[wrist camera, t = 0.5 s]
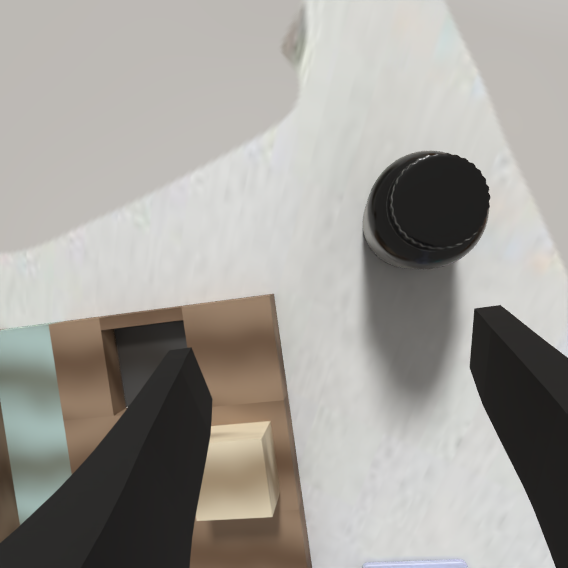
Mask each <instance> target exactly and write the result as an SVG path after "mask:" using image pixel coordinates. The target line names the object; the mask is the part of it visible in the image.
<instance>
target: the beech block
mask: <svg viewBox="0 0 568 568" xmlns="http://www.w3.org/2000/svg"><path fill="white" fill-rule="evenodd" d="M279 494H280V485H279V478H278V471H277V464H276V457H275V449H274V442H273V435H272V428H271V421H265V422H254V423H242V424H230V425H219V426H211V435H210V441H209V447H208V452H207V458H206V463H205V469H204V474H203V479H202V485H201V490H200V495H199V501H198V506H197V511H196V520H197V521H207V520H227V519H246V518H265V517H273V514H274V510H275V507H276V504H277V501H278V498H279Z"/></svg>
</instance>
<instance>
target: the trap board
mask: <svg viewBox="0 0 568 568" xmlns="http://www.w3.org/2000/svg"><path fill="white" fill-rule="evenodd" d="M179 320H182V321H179ZM171 321H174V322H171ZM163 322H166V323H163ZM155 323H159V324H155ZM147 324H151V325H147ZM139 325H143V326H139ZM131 326H135V327H131ZM123 327H127V328H123ZM115 328H119V329H115ZM114 329H115V331H114ZM115 336H116V337H115ZM116 342H117V344H116ZM190 347H192V350H193V352H194V355H195V357H196V360H197V362H198V364H199V367H200V369H201V372H202V374H203V377H204V379H205V382H206V384H207V386H208V389H209V391H210V394H211V396H212V399H213V401H212V421H211V426H219V425H230V424H242V423H254V422H265V421H271V428H272V435H273V442H274V449H275V457H276V464H277V471H278V478H279V485H280V494H279V498H278V501H277V504H276V507H275V510H274V514H273V517H265V518H246V519H227V520H207V521H197V520H196V516H195V523H194V529H193V536H192V546H191V557H190V568H312V564H311V557H310V549H309V542H308V535H307V528H306V521H305V514H304V506H303V499H302V492H301V485H300V478H299V471H298V464H297V456H296V449H295V442H294V435H293V428H292V421H291V413H290V406H289V399H288V392H287V385H286V378H285V370H284V363H283V356H282V349H281V342H280V335H279V327H278V320H277V313H276V306H275V299H274V294H269V295H261V296H253V297H246V298H238V299H231V300H223V301H215V302H208V303H200V304H193V305H185V306H177V307H170V308H162V309H154V310H147V311H139V312H132V313H124V314H116V315H109V316H101V317H93V318H86V319H78V320H71V321H63V322H55V323H48V324H40V325H32V326H25V327H17V328H10V329H2V330H0V543H1V542H2V541H3V540H4V539H5V538H7V537H8V536H9V535H10V534H11V533H12V532H13V531H15V530H16V529H17V528H18V527H19V526H20V525H21V524H22V523H23V522H24V521H25V520H26V519H27V518H28V517H30V516H31V515H32V514H33V513H34V512H35V511H36V510H37V509H38V508H39V507H40V506H41V505H42V504H43V503H44V502H45V501H46V500H47V499H48V498H49V497H51V496H52V495H53V494H54V493H55V492H56V491H57V490H58V489H59V488H60V487H61V486H62V485H63V483H64V482H65V481H66V480H67V479H68V478H69V477H70V476H71V475H72V474H73V473H74V472H75V471H76V470H77V469H78V468H79V467H80V465H81V464H82V463H83V462H84V461H85V460H86V459H87V458H88V456H89V455H90V454H91V453H92V452H93V451H94V450H95V448H96V447H97V446H98V445H99V443H100V442H101V441H102V440H103V438H104V437H105V436H106V435H107V434H108V432H109V431H110V430H111V429H112V427H113V426H114V425H115V424H116V422H117V421H118V420H119V418H120V417H121V416H122V415H123V413H124V412H125V410H126V409H127V408H126V407H128V406H129V405H130V404H131V402H132V401H133V400H134V398H135V397H136V396H137V394H138V393H139V392H140V390H141V389H142V387H143V386H144V385H145V383H146V382H147V380H148V379H149V378H150V376H151V375H152V373H153V372H154V371H155V369H156V368H157V366H158V365H159V364H160V362H161V361H162V359H163V358H164V357H165V355H166V354H167V353H168V351H169V350H175V349H182V348H190ZM117 349H118V351H117ZM118 356H119V357H118ZM119 362H120V364H119ZM120 369H121V371H120ZM121 375H122V377H121ZM122 382H123V384H122ZM123 389H124V391H123ZM124 395H125V397H124ZM125 402H126V404H125Z"/></svg>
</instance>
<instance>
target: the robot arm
mask: <svg viewBox="0 0 568 568" xmlns="http://www.w3.org/2000/svg"><path fill="white" fill-rule="evenodd" d="M470 370H471V373H472V375H473V378H474V381H475V384H476V387H477V390H478V393H479V396H480V398H481V401H482V404H483V406H484V408H485V410H486V412H487V414H488V416H489V418H490V420H491V422H492V424H493V426H494V429H495V431H496V433H497V435H498V437H499V439H500V441H501V443H502V445H503V447H504V449H505V451H506V453H507V455H508V457H509V459H510V461H511V463H512V465H513V467H514V469H515V471H516V473H517V475H518V476H519V478H520V480H521V482H522V484H523V486H524V489H525V491H526V493H527V495H528V497H529V500H530V502H531V504H532V506H533V509H534V511H535V514H536V516H537V519H538V522H539V524H540V527H541V529H542V532H543V535H544V537H545V540H546V542H547V545H548V548H549V550H550V553H551V556H552V558H553V561H554V564H555V567H556V568H568V358H567V357H566V356H565V355H563V354H562V353H561V352H559V351H558V350H557V349H555V348H554V347H553V346H551V345H550V344H549V343H548V342H546V341H545V340H544V339H542V338H541V337H540V336H539V335H537V334H536V333H535V332H533V331H532V330H531V329H530V328H528V327H527V326H526V325H525V324H523V323H522V322H521V321H520V320H518V319H517V318H516V317H515V316H513V315H512V314H511V313H510V312H508V311H507V310H506V309H505V308H503V307H502V306H501V305H498V306H491V307H483V308H476V309H474V321H473V333H472V345H471V357H470ZM212 401H213V399H212V396H211V394H210V391H209V389H208V386H207V384H206V382H205V379H204V377H203V374H202V372H201V369H200V367H199V364H198V362H197V360H196V357H195V355H194V352H193V350H192V347H190V348H182V349H175V350H169V351H168V353H167V354H166V355H165V357H164V358H163V359H162V361H161V362H160V364H159V365H158V366H157V368H156V369H155V371H154V372H153V373H152V375H151V376H150V378H149V379H148V380H147V382H146V383H145V385H144V386H143V387H142V389H141V390H140V392H139V393H138V394H137V396H136V397H135V398H134V400H133V401H132V402H131V404H130V405H129V406H128V408H127V409H126V410H125V412H124V413H123V415H122V416H121V417H120V418H119V420H118V421H117V422H116V424H115V425H114V426H113V427H112V429H111V430H110V431H109V432H108V434H107V435H106V436H105V437H104V438H103V440H102V441H101V442H100V443H99V445H98V446H97V447H96V448H95V450H94V451H93V452H92V453H91V454H90V455H89V456H88V458H87V459H86V460H85V461H84V462H83V463H82V464H81V465H80V467H79V468H78V469H77V470H76V471H75V472H74V473H73V474H72V475H71V476H70V477H69V478H68V479H67V480H66V481H65V482H64V483H63V485H62V486H61V487H60V488H59V489H58V490H57V491H56V492H55V493H54V494H53V495H52V496H51V497H49V498H48V499H47V500H46V501H45V502H44V503H43V504H42V505H41V506H40V507H39V508H38V509H37V510H36V511H35V512H34V513H33V514H32V515H31V516H30V517H28V518H27V519H26V520H25V521H24V522H23V523H22V524H21V525H20V526H19V527H18V528H17V529H16V530H15V531H13V532H12V533H11V534H10V535H9V536H8V537H7V538H5V539H4V540H3V541H2V542H1V543H0V568H190V557H191V546H192V536H193V529H194V523H195V516H196V511H197V506H198V501H199V495H200V490H201V485H202V479H203V474H204V469H205V463H206V458H207V452H208V447H209V441H210V435H211V421H212ZM362 568H468V566H467V563H466V562H465V561H464V560H461V559H455V560H426V561H397V562H368V563H364V564H363V566H362Z"/></svg>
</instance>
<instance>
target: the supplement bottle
mask: <svg viewBox="0 0 568 568" xmlns="http://www.w3.org/2000/svg"><path fill="white" fill-rule="evenodd" d="M488 191H489V187H488V185H487V184H486V179H485V178H484V177H483V176H482V174H481V171H480V170H479V169H477V168H476V167H475V165H474V164H473V163H470V162H468V160H467V159H466V158H460V157H459V156H458V155H451V154H449V153H445V152H440V151H421V152H416V153H412V154H409V155H406V156H404V157H402V158H400V159H398V160H396V161H395V162H393V163H392V164H391V165H390V166H388V167H387V168H386V169H385V170H384V171H383V172H382V174H381V175H380V176H379V177H378V179H377V180H376V182H375V184H374V185H373V187H372V190H371V192H370V195H369V198H368V201H367V204H366V207H365V210H364V215H363V232H364V236H365V239H366V241H367V244H368V245H369V247H370V249H371V250H372V251H373V252H374V254H375V255H376V256H378V257H379V258H380V259H381V260H383V261H384V262H386V263H388V264H390V265H393V266H396V267H400V268H409V269H433V268H439V267H443V266H446V265H449V264H451V263H454V262H455V261H457V260H459V259H461V258H462V257H464V256H465V255H466V254H467V253H469V252H470V251H471V250H472V249H473V247H474V246H475V245H476V244H477V242H478V241H479V240H480V238H481V236H482V234H483V232H484V230H485V227H486V224H487V220H488V214H489V207H490V205H489V200H490V195H489V193H488Z"/></svg>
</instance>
